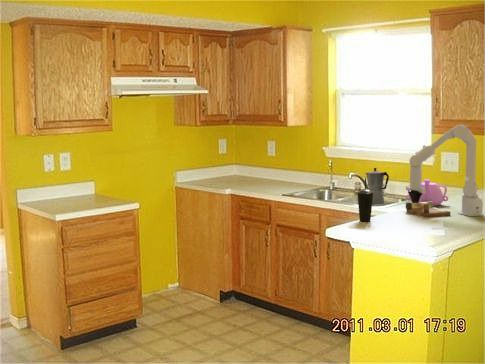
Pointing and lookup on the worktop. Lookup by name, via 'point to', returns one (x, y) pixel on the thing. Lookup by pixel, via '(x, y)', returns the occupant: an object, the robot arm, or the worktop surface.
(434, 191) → the teapot
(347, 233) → the worktop surface
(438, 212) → the walnut stool seat
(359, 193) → the drinking cup
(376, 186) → the moka pot
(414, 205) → the birch leg
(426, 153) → the robot arm
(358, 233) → the worktop surface
